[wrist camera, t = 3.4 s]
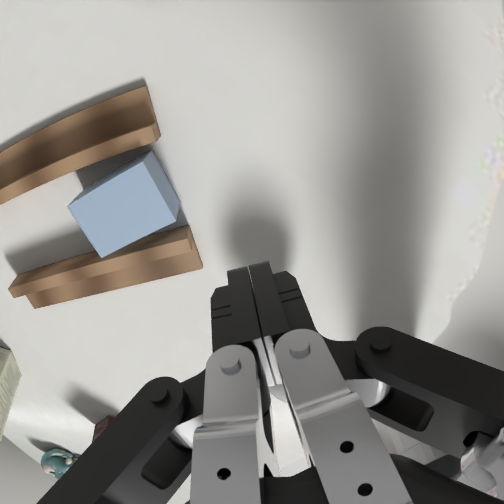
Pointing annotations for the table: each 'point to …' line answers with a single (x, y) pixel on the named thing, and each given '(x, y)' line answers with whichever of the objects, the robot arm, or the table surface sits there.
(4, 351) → the skincare box
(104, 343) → the table surface
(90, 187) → the block
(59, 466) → the stuffed animal
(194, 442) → the robot arm
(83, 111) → the chute
